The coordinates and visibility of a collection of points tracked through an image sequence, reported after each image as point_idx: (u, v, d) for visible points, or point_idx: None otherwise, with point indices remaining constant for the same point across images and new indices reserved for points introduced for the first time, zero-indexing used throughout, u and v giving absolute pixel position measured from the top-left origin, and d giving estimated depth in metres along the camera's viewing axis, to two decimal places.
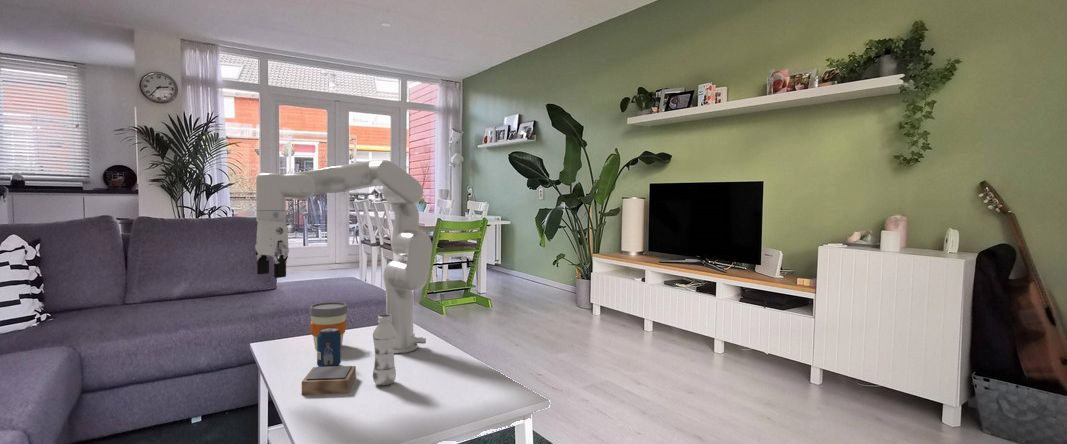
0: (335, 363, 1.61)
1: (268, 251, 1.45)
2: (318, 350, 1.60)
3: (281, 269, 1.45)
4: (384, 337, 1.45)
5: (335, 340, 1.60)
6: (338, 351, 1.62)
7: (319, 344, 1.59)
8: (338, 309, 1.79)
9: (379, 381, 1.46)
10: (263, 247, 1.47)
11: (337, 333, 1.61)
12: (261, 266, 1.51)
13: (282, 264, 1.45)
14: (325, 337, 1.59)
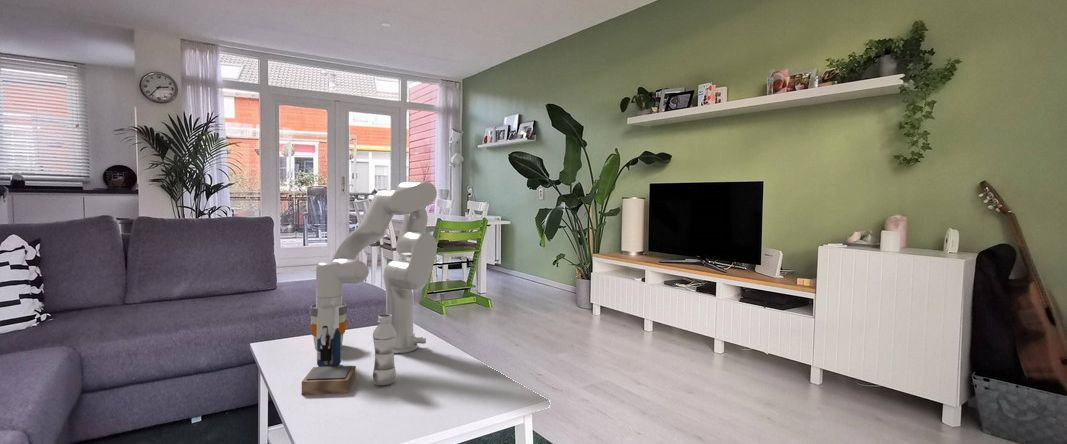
0: (335, 363, 1.61)
1: None
2: (318, 350, 1.60)
3: None
4: (384, 337, 1.45)
5: (335, 340, 1.60)
6: (338, 351, 1.62)
7: (319, 344, 1.59)
8: None
9: (379, 381, 1.46)
10: (336, 328, 1.63)
11: (337, 333, 1.61)
12: None
13: None
14: None
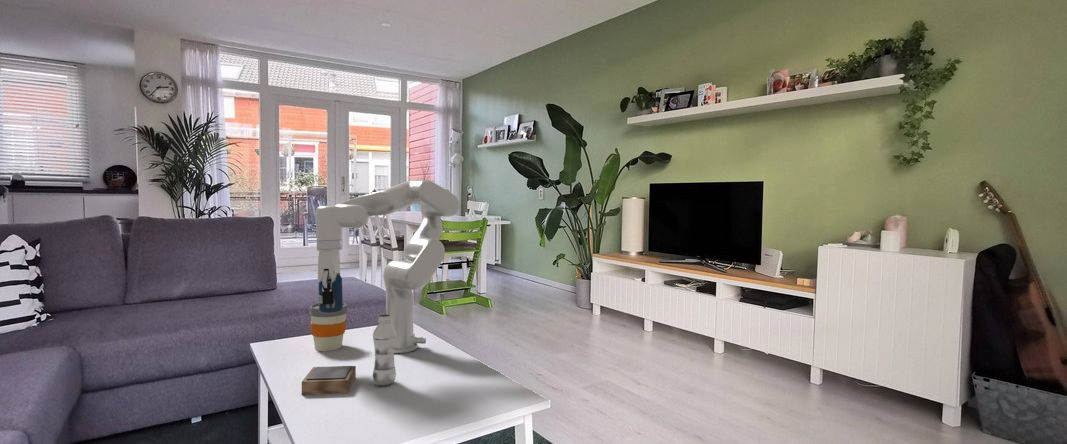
0: (337, 307, 1.60)
1: None
2: (320, 294, 1.59)
3: None
4: (384, 337, 1.45)
5: (337, 284, 1.60)
6: (340, 295, 1.61)
7: (320, 288, 1.59)
8: None
9: (379, 381, 1.46)
10: (338, 272, 1.62)
11: (338, 277, 1.61)
12: None
13: None
14: None
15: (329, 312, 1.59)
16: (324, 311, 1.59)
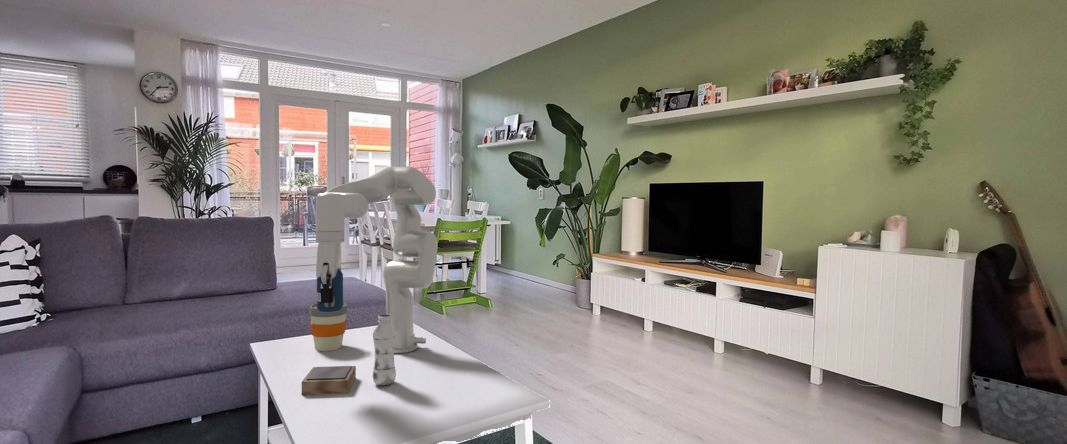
0: (337, 306, 1.43)
1: None
2: (318, 291, 1.43)
3: None
4: (384, 337, 1.45)
5: (337, 280, 1.43)
6: (340, 293, 1.44)
7: (319, 284, 1.42)
8: None
9: (379, 381, 1.46)
10: (338, 268, 1.45)
11: (339, 273, 1.44)
12: None
13: None
14: None
15: (328, 311, 1.43)
16: (322, 310, 1.43)
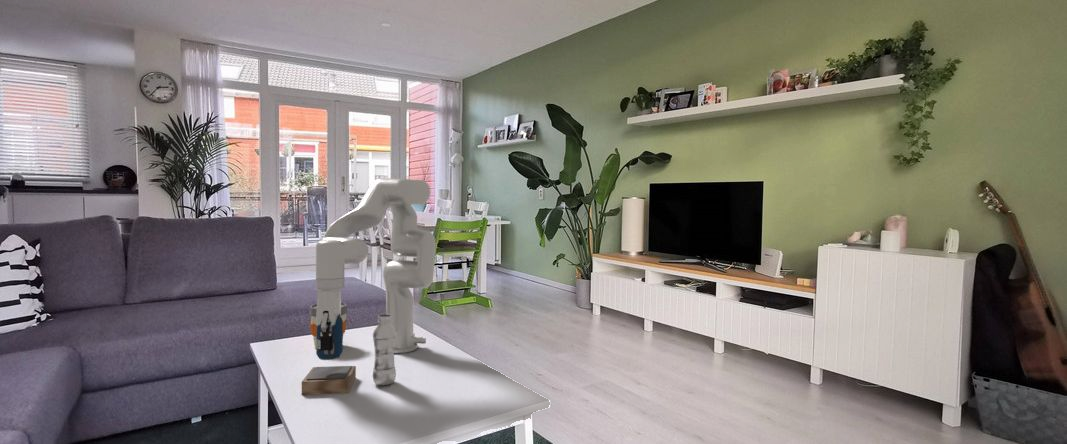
0: (336, 353, 1.44)
1: None
2: (317, 338, 1.43)
3: None
4: (384, 337, 1.45)
5: (337, 327, 1.44)
6: (340, 339, 1.45)
7: (319, 332, 1.43)
8: None
9: (379, 381, 1.46)
10: (338, 314, 1.46)
11: (339, 319, 1.45)
12: None
13: None
14: None
15: (327, 358, 1.43)
16: (322, 357, 1.43)
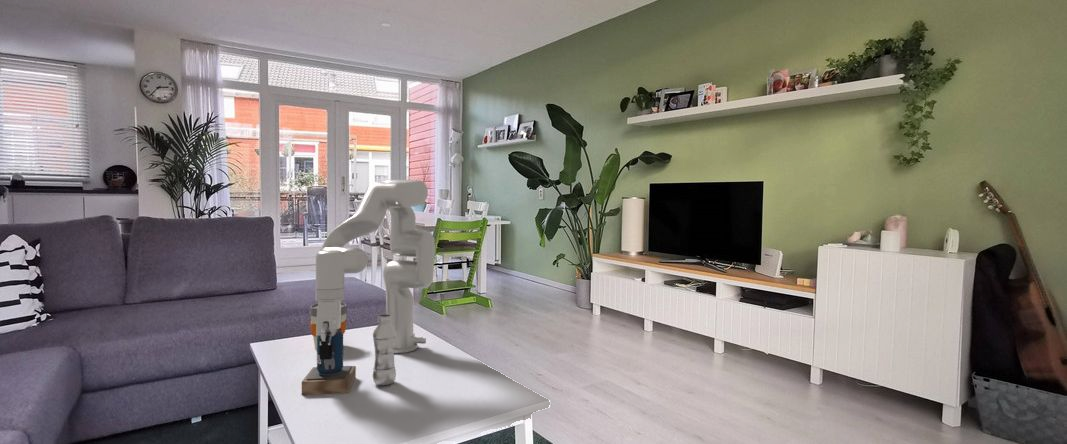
0: (337, 368, 1.44)
1: (339, 325, 1.49)
2: (318, 353, 1.44)
3: None
4: (384, 337, 1.45)
5: (337, 342, 1.44)
6: (340, 354, 1.45)
7: (319, 347, 1.43)
8: None
9: (379, 381, 1.46)
10: (338, 324, 1.46)
11: (339, 334, 1.45)
12: None
13: None
14: None
15: (328, 374, 1.44)
16: (322, 372, 1.43)
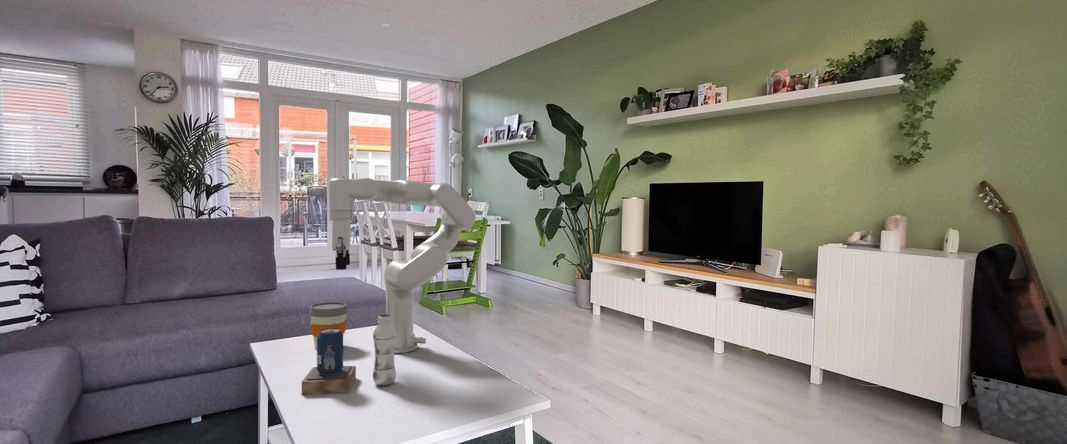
0: (337, 368, 1.44)
1: (350, 243, 1.73)
2: (318, 353, 1.44)
3: None
4: (384, 337, 1.45)
5: (337, 342, 1.44)
6: (340, 354, 1.45)
7: (319, 347, 1.43)
8: (338, 309, 1.79)
9: (379, 381, 1.46)
10: (349, 242, 1.71)
11: (339, 334, 1.45)
12: None
13: None
14: (326, 339, 1.43)
15: (328, 374, 1.44)
16: (322, 372, 1.43)
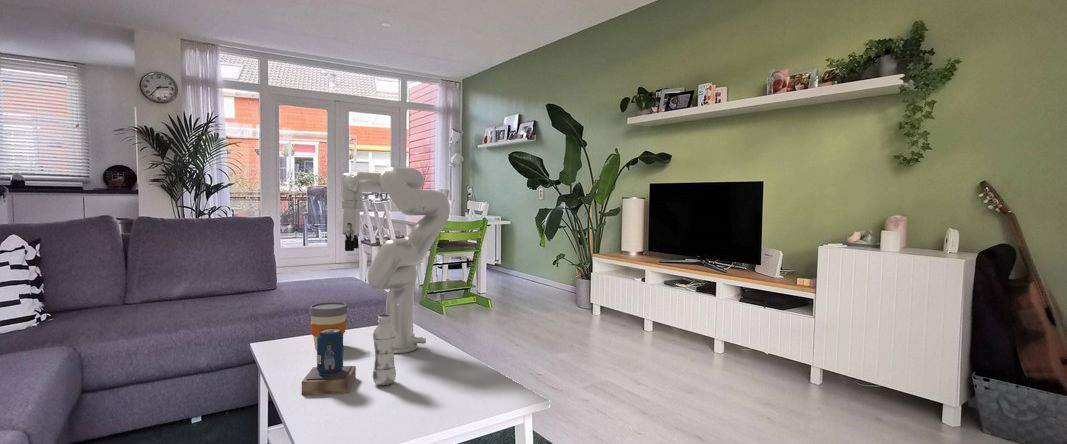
0: (337, 368, 1.44)
1: (359, 229, 2.01)
2: (318, 353, 1.44)
3: None
4: (384, 337, 1.45)
5: (337, 342, 1.44)
6: (340, 354, 1.45)
7: (319, 347, 1.43)
8: (338, 309, 1.79)
9: (379, 381, 1.46)
10: (358, 228, 1.99)
11: (339, 334, 1.45)
12: None
13: None
14: (326, 339, 1.43)
15: (328, 374, 1.44)
16: (322, 372, 1.43)
